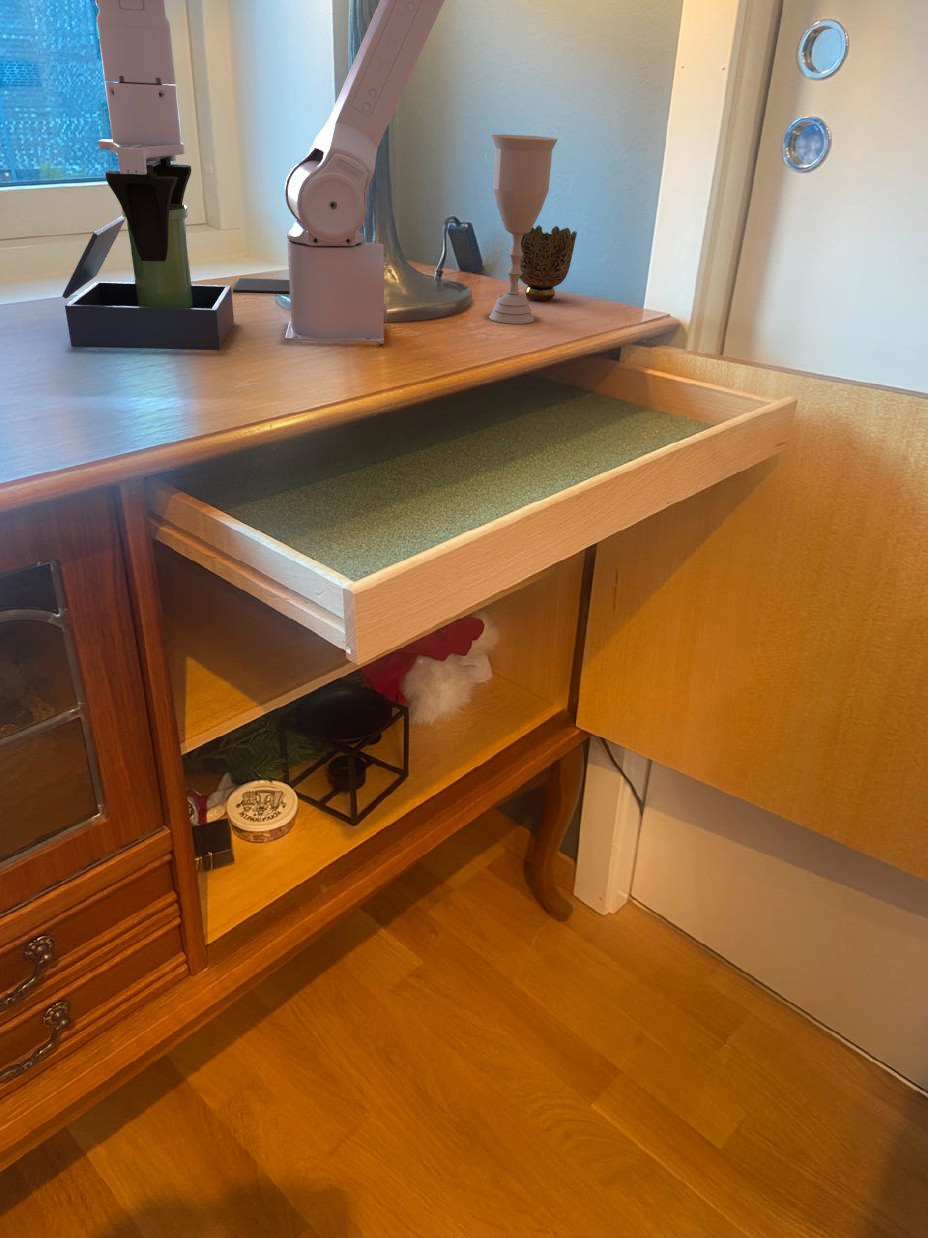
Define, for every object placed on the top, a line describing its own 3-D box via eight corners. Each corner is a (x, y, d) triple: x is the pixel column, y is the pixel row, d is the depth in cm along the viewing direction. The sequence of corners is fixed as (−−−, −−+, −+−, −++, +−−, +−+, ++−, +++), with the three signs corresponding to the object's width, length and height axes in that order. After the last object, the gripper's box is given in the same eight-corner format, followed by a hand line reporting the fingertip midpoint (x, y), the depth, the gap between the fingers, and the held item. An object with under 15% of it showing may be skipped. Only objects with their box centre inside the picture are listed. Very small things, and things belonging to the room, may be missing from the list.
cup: (505, 302, 110) (510, 230, 106) (512, 290, 117) (517, 222, 113) (567, 307, 110) (575, 235, 106) (571, 295, 116) (578, 227, 112)
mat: (297, 284, 114) (297, 279, 114) (294, 295, 108) (293, 291, 108) (239, 282, 113) (239, 277, 113) (233, 293, 107) (232, 289, 107)
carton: (72, 351, 83) (64, 305, 81) (101, 323, 92) (95, 281, 90) (220, 355, 84) (216, 309, 82) (234, 326, 94) (231, 285, 92)
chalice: (543, 327, 100) (560, 140, 91) (481, 324, 100) (491, 137, 91) (539, 312, 106) (555, 136, 97) (481, 309, 106) (490, 133, 97)
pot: (200, 299, 89) (191, 203, 85) (191, 312, 85) (181, 211, 80) (141, 297, 89) (128, 201, 85) (128, 310, 84) (114, 209, 80)
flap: (66, 298, 81) (61, 296, 80) (96, 275, 90) (92, 273, 90) (98, 235, 78) (93, 232, 78) (126, 217, 88) (122, 215, 88)
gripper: (111, 80, 84) (131, 240, 90) (67, 81, 71) (95, 267, 78) (191, 84, 84) (205, 243, 91) (162, 86, 72) (181, 270, 79)
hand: (160, 254), depth 85 cm, fingers closed on pot, 5 cm apart
